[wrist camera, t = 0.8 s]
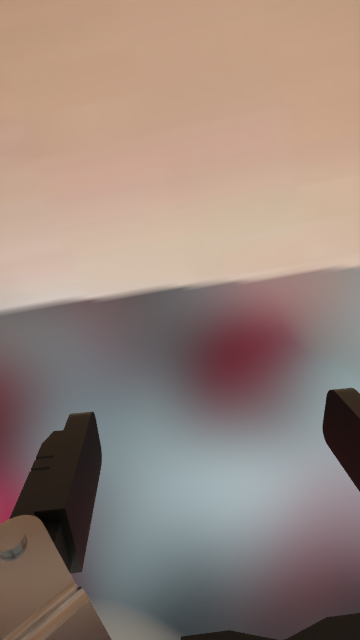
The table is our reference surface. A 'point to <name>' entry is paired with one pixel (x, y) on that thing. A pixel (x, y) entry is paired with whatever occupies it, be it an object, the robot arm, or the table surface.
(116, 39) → the table surface
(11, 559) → the robot arm
